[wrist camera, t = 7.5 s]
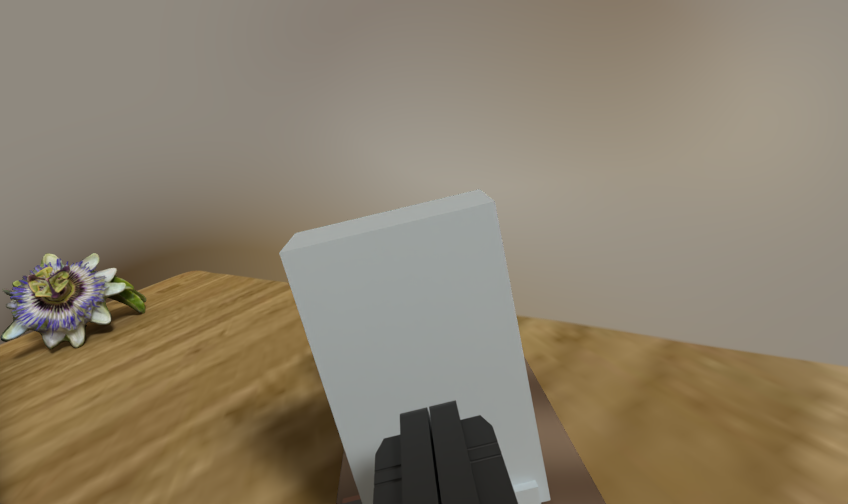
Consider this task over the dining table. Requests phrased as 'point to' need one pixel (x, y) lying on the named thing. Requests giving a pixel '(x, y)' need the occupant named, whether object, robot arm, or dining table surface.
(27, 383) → the dining table surface
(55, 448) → the dining table surface
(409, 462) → the robot arm
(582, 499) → the board
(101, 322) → the passion flower
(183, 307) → the dining table surface
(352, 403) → the panel
